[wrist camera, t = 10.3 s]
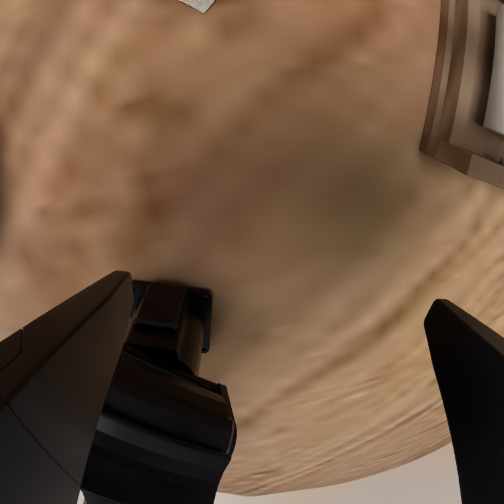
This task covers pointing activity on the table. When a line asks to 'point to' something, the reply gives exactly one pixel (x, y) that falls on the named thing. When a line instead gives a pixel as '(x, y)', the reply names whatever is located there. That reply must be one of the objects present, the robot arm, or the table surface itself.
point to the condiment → (199, 4)
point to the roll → (497, 81)
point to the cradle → (464, 92)
